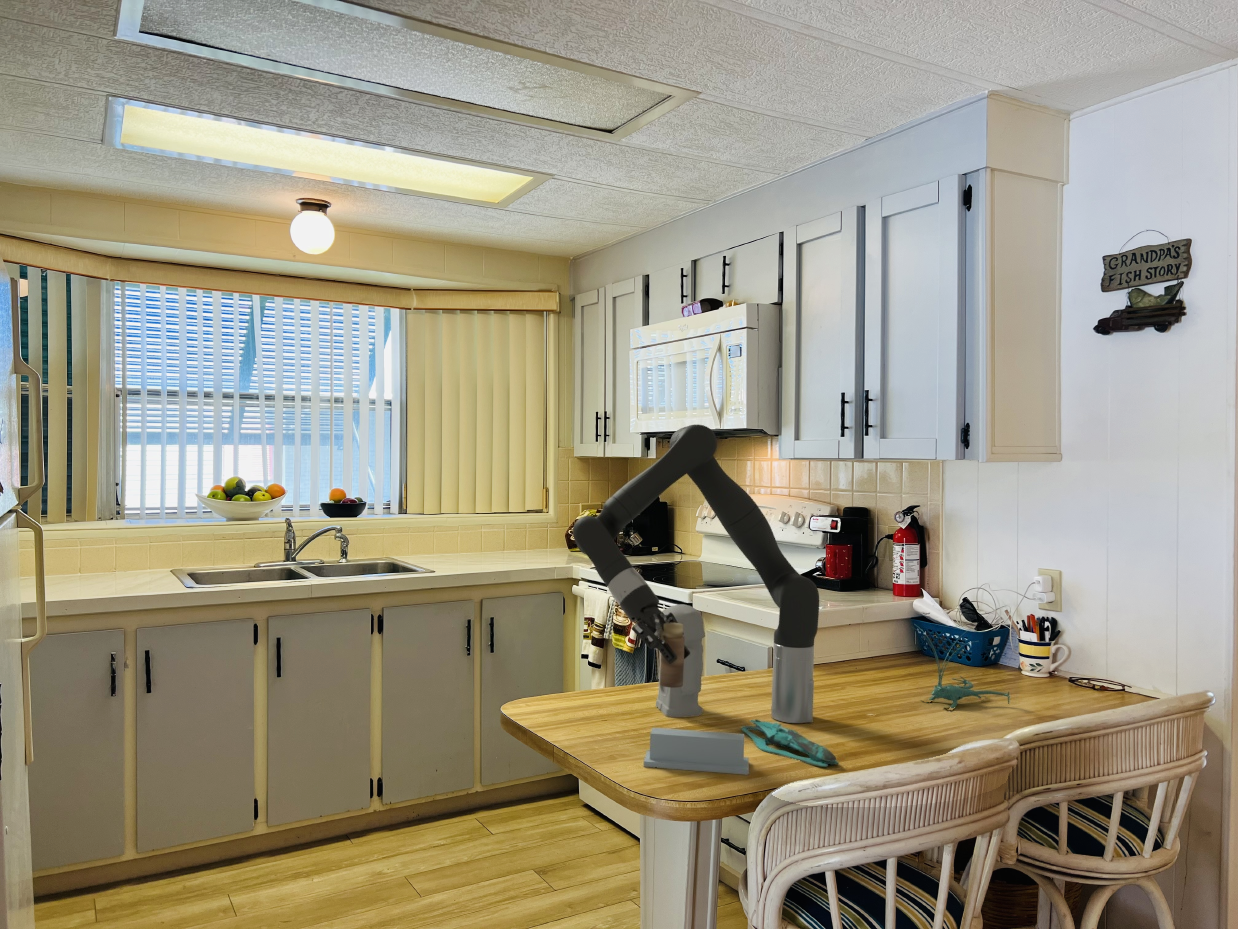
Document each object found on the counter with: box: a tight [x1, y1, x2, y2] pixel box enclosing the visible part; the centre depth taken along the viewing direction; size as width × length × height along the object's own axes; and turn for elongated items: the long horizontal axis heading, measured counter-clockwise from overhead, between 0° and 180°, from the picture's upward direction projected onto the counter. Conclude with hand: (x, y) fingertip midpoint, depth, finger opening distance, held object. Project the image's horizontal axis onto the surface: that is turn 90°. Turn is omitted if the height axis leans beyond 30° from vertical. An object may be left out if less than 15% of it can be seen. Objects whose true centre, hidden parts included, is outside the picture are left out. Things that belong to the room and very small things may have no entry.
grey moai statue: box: [655, 604, 706, 718], centre depth 214 cm, size 15×10×25 cm
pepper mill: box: [660, 623, 685, 688], centre depth 189 cm, size 5×5×12 cm
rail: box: [643, 727, 750, 776], centre depth 177 cm, size 20×7×6 cm, turn 82°
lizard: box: [909, 624, 1011, 708], centre depth 227 cm, size 23×25×21 cm
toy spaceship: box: [740, 718, 840, 768], centre depth 189 cm, size 11×27×5 cm, turn 32°
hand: (680, 658), depth 188 cm, fingers closed on pepper mill, 4 cm apart
